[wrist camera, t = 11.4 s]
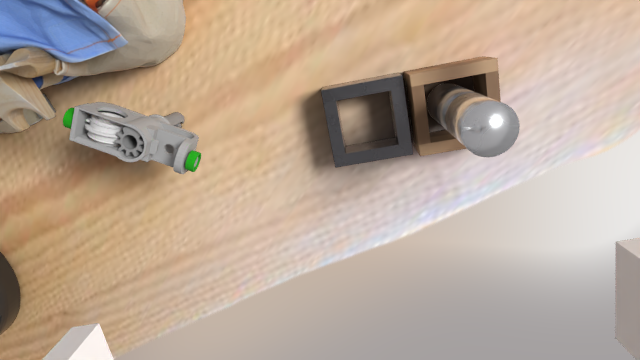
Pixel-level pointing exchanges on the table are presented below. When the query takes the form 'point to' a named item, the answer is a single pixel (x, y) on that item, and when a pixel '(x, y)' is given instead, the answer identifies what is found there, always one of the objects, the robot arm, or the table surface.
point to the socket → (375, 148)
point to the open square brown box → (479, 68)
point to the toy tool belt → (76, 47)
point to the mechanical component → (134, 135)
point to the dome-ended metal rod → (474, 119)
